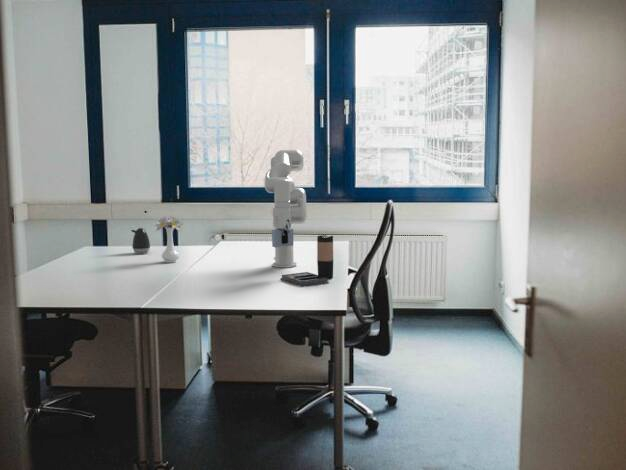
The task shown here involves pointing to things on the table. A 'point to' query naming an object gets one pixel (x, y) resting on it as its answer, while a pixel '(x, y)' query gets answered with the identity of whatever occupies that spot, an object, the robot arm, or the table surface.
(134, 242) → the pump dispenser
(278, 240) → the panel
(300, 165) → the robot arm
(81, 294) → the table surface
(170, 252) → the flower vase
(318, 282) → the rack
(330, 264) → the travel mug
